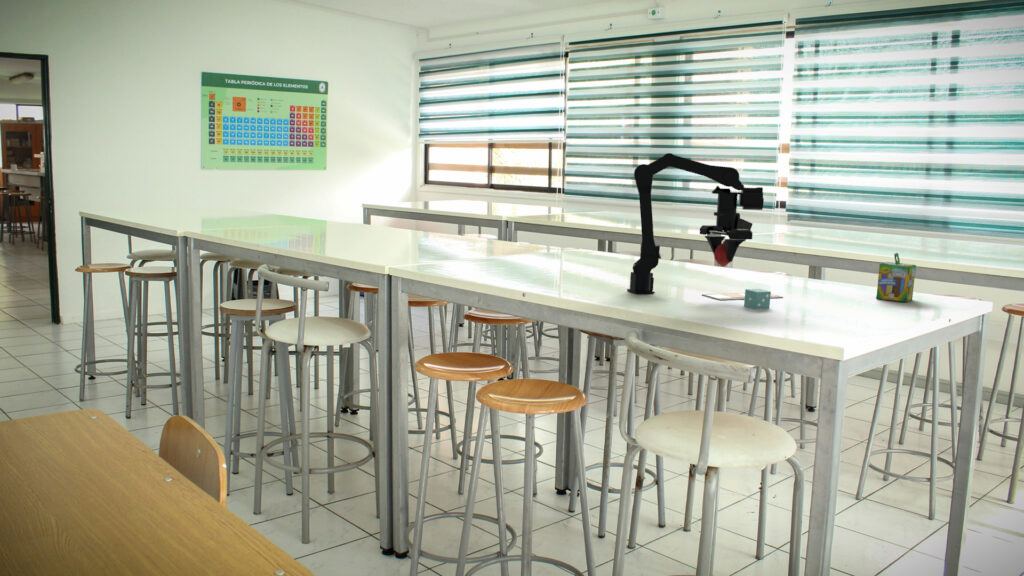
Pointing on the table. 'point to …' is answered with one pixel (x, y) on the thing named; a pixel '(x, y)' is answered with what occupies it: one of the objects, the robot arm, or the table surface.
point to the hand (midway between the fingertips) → (723, 260)
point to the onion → (721, 255)
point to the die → (757, 298)
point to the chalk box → (896, 281)
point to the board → (733, 296)
